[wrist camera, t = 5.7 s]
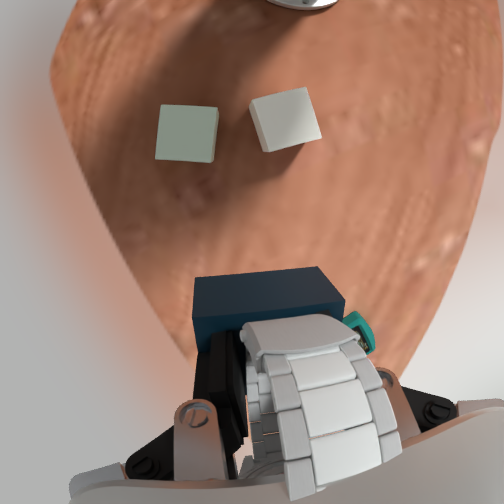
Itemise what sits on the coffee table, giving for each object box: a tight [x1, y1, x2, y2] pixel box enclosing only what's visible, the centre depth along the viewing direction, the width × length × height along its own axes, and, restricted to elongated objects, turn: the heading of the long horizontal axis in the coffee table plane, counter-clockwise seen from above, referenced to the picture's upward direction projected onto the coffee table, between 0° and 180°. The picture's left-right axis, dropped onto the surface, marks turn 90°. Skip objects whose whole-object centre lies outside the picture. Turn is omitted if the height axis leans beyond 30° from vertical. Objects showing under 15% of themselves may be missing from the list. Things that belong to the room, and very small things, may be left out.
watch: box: [192, 266, 402, 501], centre depth 8 cm, size 6×8×11 cm
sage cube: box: [155, 105, 219, 163], centre depth 25 cm, size 5×5×5 cm
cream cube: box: [249, 87, 322, 152], centre depth 26 cm, size 5×5×5 cm
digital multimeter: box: [342, 311, 375, 355], centre depth 38 cm, size 7×15×3 cm, turn 122°
